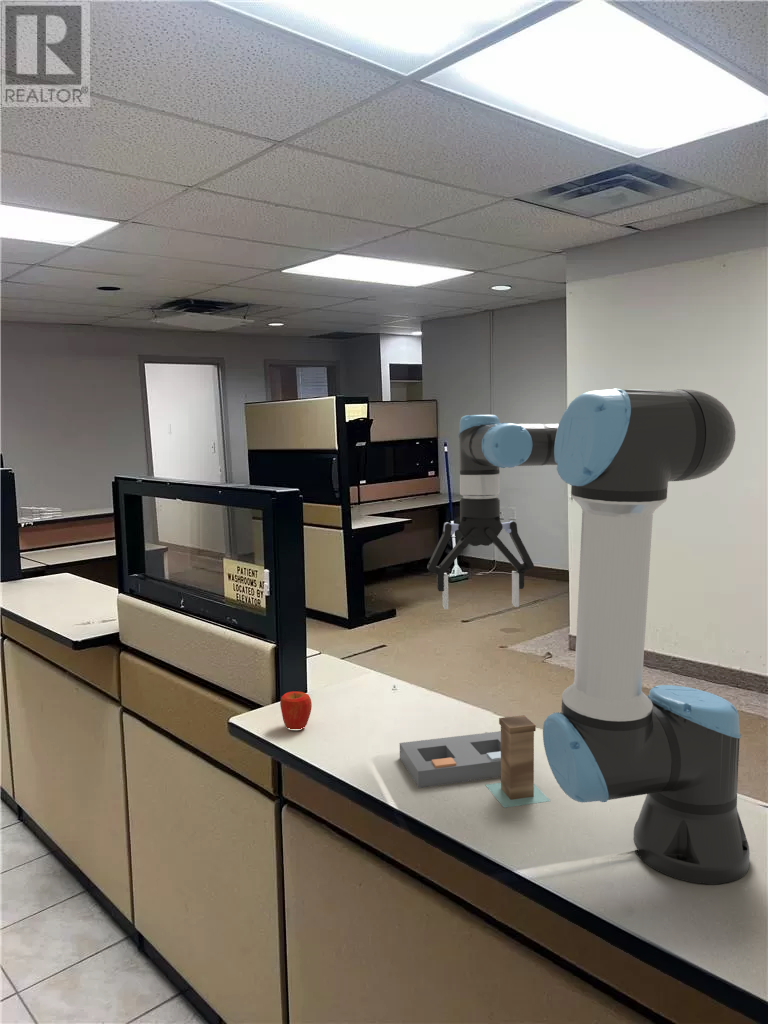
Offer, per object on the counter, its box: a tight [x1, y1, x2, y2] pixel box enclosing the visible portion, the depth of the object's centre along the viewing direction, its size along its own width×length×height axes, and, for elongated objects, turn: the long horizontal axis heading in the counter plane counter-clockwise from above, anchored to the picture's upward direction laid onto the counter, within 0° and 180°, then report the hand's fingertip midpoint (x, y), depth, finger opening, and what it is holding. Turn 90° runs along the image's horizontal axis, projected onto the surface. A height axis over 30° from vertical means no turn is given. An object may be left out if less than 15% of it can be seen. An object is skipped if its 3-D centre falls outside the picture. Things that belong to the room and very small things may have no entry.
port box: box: [399, 730, 501, 789], centre depth 132 cm, size 12×20×4 cm, turn 104°
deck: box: [484, 782, 551, 809], centre depth 121 cm, size 8×8×1 cm
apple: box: [279, 691, 313, 729], centre depth 153 cm, size 6×6×8 cm
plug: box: [498, 714, 537, 800], centre depth 121 cm, size 4×4×12 cm
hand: (480, 606), depth 143 cm, fingers open, 13 cm apart
